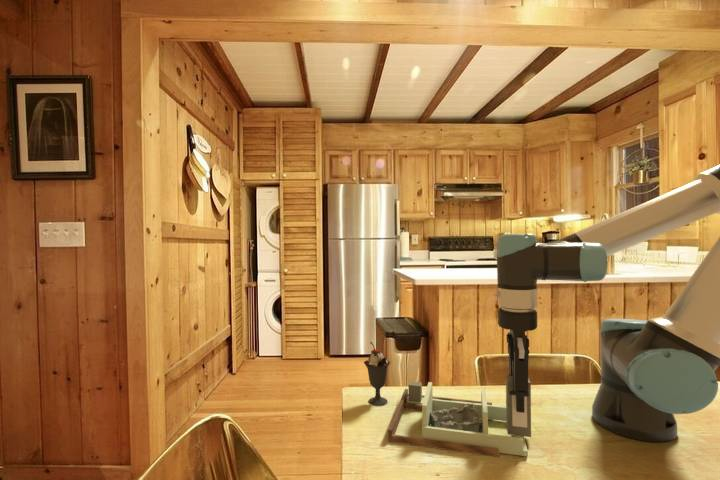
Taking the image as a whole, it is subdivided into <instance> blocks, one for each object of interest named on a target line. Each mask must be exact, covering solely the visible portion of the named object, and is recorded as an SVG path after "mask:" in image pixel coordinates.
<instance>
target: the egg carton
mask: <svg viewBox="0 0 720 480" xmlns="http://www.w3.org/2000/svg"><path fill="white" fill-rule="evenodd" d="M482 424H483V423H482V418H480V416H479V417H478V414H477V411H476V409H475V407H474V406H473V404H469V403H468V404H463V405H460V406H459V408H455V407H453V408H452V409H447V410H446V409H443V410H439V411H435V412H434V411H431V412H430V427H438V428H446V429H454V430H462V431H470V432H478V433H483V432H482Z"/></svg>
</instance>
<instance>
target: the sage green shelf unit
mask: <svg viewBox="0 0 720 480" xmlns="http://www.w3.org/2000/svg"><path fill="white" fill-rule="evenodd" d="M531 383H532V382H531V381H530V378H529V377H528V392H529V395H528V397H527V428H525V427H517V426H513V425H512V395H509V391H513V376H509V375H505V406H503V405H495V404H494V405H493V404H492V405H487V402H488V401H487V398H488V397H487V390H486V387H485V386H484V387H483V386H481V388H480V390H481V391H480V393H481V394H480V395H481V400H480V401H481V404H477V403H469V404H473V406H474V407H475V409H476V411H477V414H478V417H479V416H480V418H481V420H482V423H483V424H482V433H478V432H470V431H462V430H454V429H446V428H438V427H431V424H430V412H431V411H434V412H435V411H439V410H443V409H446V410H447V409H452V408H453V407H455V408H459V406H460V405H463V404H468V403H467V402H458V401H449V400H439V399H433V382H432V381H431V382H430V381H428V382H427V387H426V390H425V393H424V396H425V397H424V400H423V404H422V411H421V418H422V421H421V422H422V427H421V438H423V439H430V440H438V441H445V442H452V443H460V444H467V445H474V446H482V447H489V448H497V449H498V450H499V454H500V453H501V454H505V455H506V454H508V455H516V456H521V457H528V455H529V452H528V448H527V443H526V440H525V437H527V438H531V437H532V395H531V394H532V391H531V390H532V388H531V386H532V385H531ZM489 420H493V421H499V422H500V421H503V422H506V424H505V425H506V426H505V427H506V432H507V435H500V434H491V433H489ZM509 435H511V436H509ZM512 435H513V436H512Z"/></svg>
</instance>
